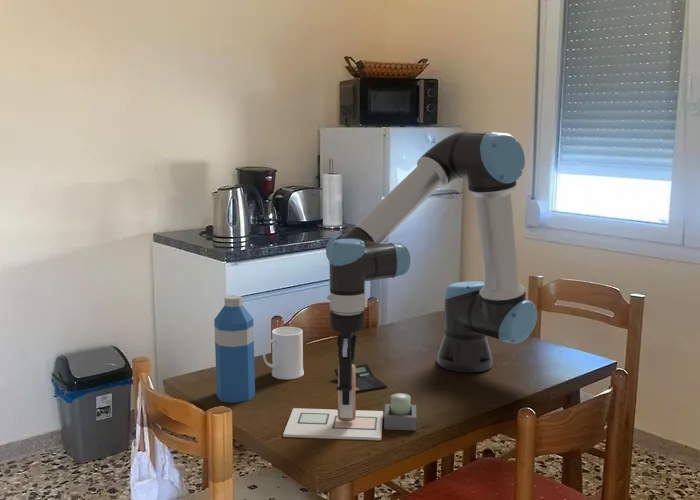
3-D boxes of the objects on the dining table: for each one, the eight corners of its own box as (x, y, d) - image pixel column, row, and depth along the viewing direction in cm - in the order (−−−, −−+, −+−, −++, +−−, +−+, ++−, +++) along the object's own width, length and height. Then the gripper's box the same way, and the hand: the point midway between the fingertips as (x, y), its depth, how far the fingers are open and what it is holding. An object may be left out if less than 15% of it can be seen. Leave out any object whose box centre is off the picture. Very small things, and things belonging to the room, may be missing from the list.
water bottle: (218, 389, 181) (215, 292, 176) (255, 388, 181) (253, 292, 177) (214, 403, 171) (211, 302, 167) (254, 402, 172) (251, 301, 168)
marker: (356, 414, 161) (356, 358, 159) (355, 421, 157) (355, 364, 155) (338, 413, 161) (338, 357, 159) (336, 421, 157) (336, 363, 155)
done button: (410, 410, 162) (410, 393, 161) (410, 418, 158) (410, 400, 157) (390, 409, 162) (391, 392, 162) (390, 417, 158) (390, 400, 157)
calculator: (353, 394, 178) (353, 383, 177) (334, 379, 188) (334, 368, 188) (386, 388, 182) (387, 377, 181) (366, 374, 192) (366, 363, 192)
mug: (270, 384, 184) (269, 339, 181) (255, 374, 191) (254, 331, 188) (309, 375, 190) (309, 332, 188) (294, 366, 197) (293, 324, 195)
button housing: (415, 417, 164) (416, 404, 163) (416, 430, 157) (416, 417, 156) (385, 416, 164) (385, 403, 164) (384, 429, 157) (384, 416, 157)
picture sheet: (383, 413, 166) (383, 410, 166) (381, 440, 152) (381, 437, 152) (293, 410, 167) (293, 407, 167) (283, 436, 154) (283, 433, 153)
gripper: (333, 300, 163) (333, 397, 168) (325, 321, 147) (326, 428, 151) (366, 301, 163) (365, 398, 167) (362, 322, 146) (361, 429, 150)
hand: (346, 412), depth 159 cm, fingers closed on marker, 4 cm apart
